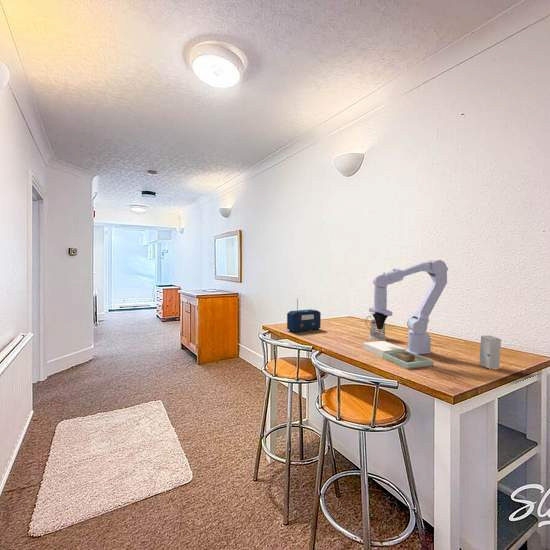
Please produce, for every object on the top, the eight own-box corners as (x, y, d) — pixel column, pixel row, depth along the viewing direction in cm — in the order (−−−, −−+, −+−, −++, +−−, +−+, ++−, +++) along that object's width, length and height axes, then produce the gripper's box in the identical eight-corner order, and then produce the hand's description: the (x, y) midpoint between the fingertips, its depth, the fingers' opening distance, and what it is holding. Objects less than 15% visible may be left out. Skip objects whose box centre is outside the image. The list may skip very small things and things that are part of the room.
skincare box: (478, 364, 124) (479, 335, 123) (489, 364, 124) (490, 335, 123) (489, 369, 118) (490, 338, 117) (500, 369, 117) (501, 338, 117)
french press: (388, 340, 164) (389, 294, 164) (366, 339, 166) (367, 294, 165) (385, 336, 174) (385, 292, 173) (364, 335, 176) (364, 292, 175)
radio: (293, 333, 180) (294, 300, 179) (286, 330, 188) (286, 298, 187) (321, 329, 190) (322, 298, 189) (313, 327, 198) (313, 297, 197)
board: (383, 346, 150) (383, 340, 150) (405, 355, 136) (405, 348, 136) (362, 348, 146) (363, 342, 146) (383, 357, 132) (383, 351, 132)
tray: (406, 355, 136) (406, 350, 136) (433, 365, 122) (433, 360, 122) (382, 358, 132) (382, 353, 132) (407, 369, 118) (407, 363, 118)
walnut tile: (414, 355, 126) (414, 361, 126) (406, 352, 130) (406, 358, 130) (405, 356, 124) (404, 362, 124) (396, 353, 129) (396, 359, 129)
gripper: (364, 299, 148) (363, 326, 149) (383, 302, 135) (383, 332, 135) (376, 298, 151) (375, 325, 151) (396, 301, 137) (395, 331, 137)
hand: (379, 328), depth 143 cm, fingers closed
